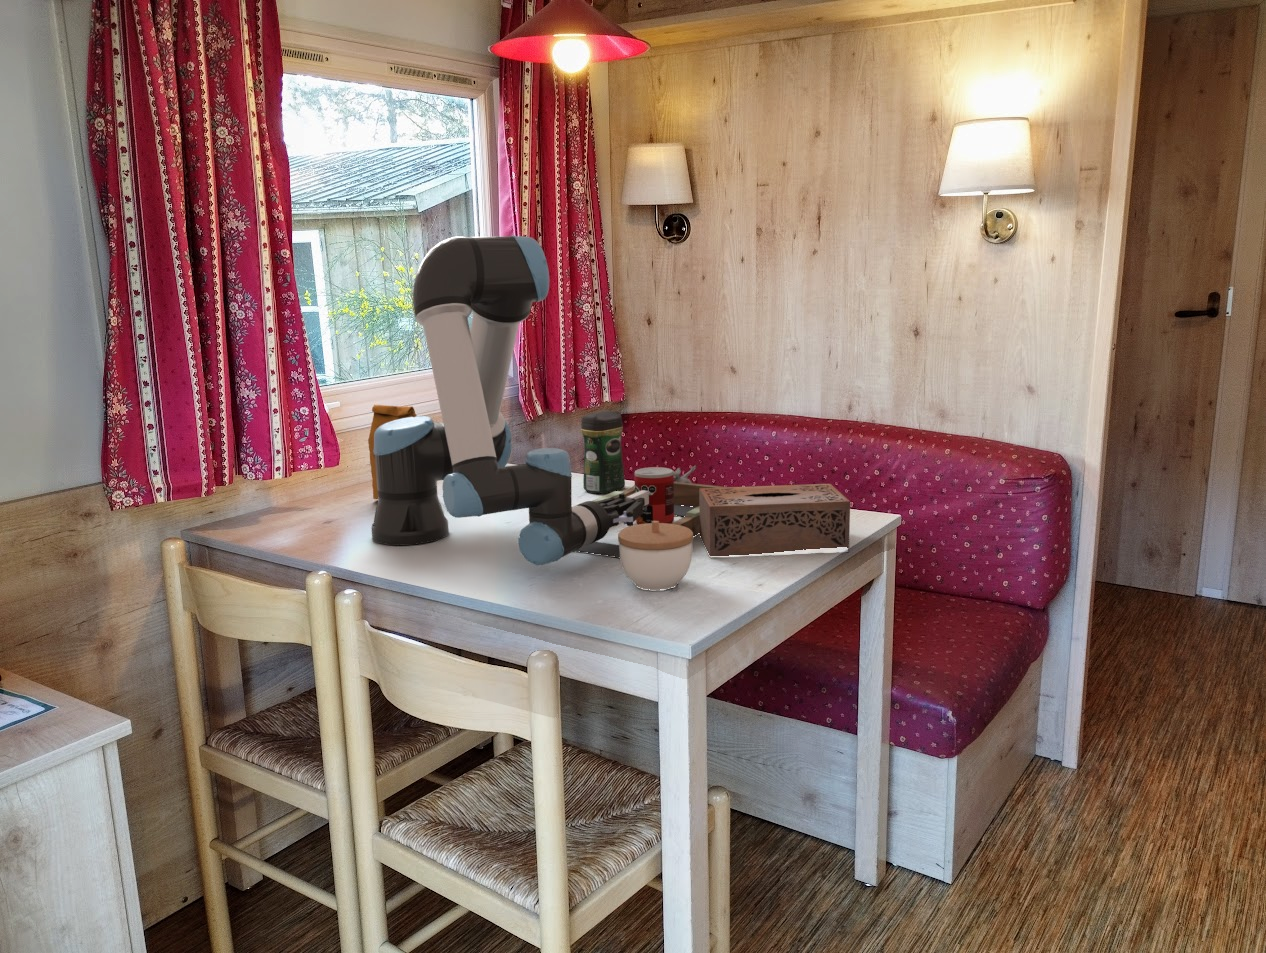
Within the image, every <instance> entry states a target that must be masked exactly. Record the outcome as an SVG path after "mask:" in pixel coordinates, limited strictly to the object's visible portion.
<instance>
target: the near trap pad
mask: <svg viewBox="0 0 1266 953" xmlns="http://www.w3.org/2000/svg"><path fill="white" fill-rule="evenodd" d="M577 551H580V552H579V553H581V552H588V553H594V554H601V555H608V556H615V557H620V552H619V544H614V543H606V542H601V541H600V542H599V541H596V542H593V543H591V544H589V545H586V546H584V547H582V548H580V549H578V550H577ZM594 554H593V555H594ZM601 555H600V556H601Z"/></svg>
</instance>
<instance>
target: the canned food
mask: <svg viewBox="0 0 1266 953" xmlns="http://www.w3.org/2000/svg"><path fill="white" fill-rule="evenodd" d="M673 471H674V469H671V468H668V467H662V466H660V467H658V466H657V467H656V466H653V467H651V466H650V467H643V468H642V467H641V468H638V469H636V470H635V471H634V486H635V493H637V492H639V491H641V490H646V491H649V504H648V505H645V506H643V514H642V515H640V516H639V517H638V518H637V519H636V520H635V523H636V525H639V524H647V523H652V521H659V523H667V524H671V523H673V522H675V516H674V482H675V480H674V474H673Z"/></svg>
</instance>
